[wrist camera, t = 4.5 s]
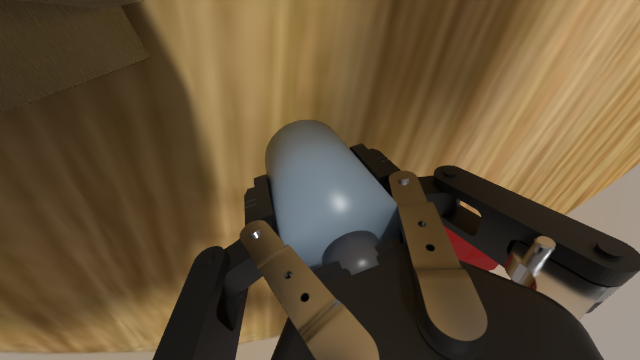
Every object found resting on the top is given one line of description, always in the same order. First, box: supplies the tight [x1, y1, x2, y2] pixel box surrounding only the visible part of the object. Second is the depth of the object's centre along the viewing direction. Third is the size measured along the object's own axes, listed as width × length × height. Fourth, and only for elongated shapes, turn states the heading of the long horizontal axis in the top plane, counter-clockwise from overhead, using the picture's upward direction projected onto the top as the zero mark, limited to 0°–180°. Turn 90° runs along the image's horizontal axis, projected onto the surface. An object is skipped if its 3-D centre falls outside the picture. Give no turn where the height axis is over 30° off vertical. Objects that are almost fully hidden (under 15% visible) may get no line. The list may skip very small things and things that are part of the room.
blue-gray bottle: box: [265, 120, 398, 275], centre depth 12 cm, size 5×5×10 cm
